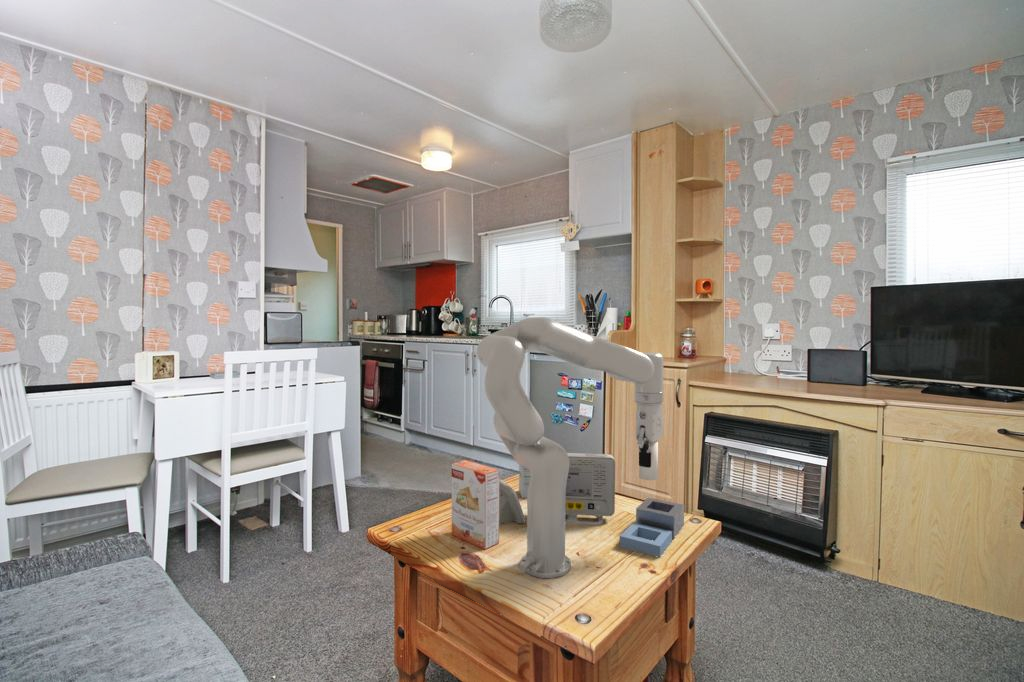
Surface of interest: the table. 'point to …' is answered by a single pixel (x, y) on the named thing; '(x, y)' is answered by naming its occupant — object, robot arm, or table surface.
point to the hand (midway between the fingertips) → (648, 463)
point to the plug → (653, 470)
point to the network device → (590, 487)
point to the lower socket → (646, 539)
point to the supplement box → (524, 481)
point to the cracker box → (475, 503)
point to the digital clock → (509, 505)
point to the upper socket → (661, 515)
